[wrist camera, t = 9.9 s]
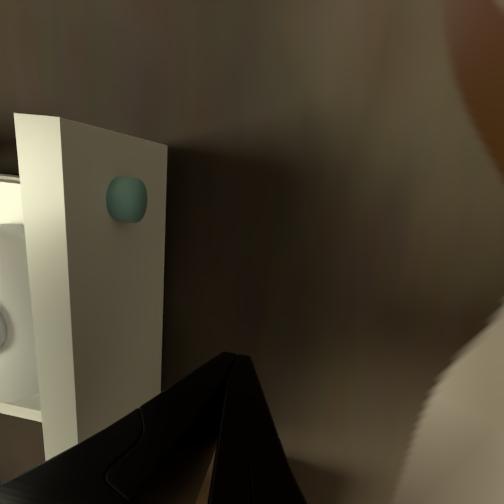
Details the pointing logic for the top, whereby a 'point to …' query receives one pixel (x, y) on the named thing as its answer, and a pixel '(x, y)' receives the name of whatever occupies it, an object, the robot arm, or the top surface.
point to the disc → (16, 319)
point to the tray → (89, 271)
